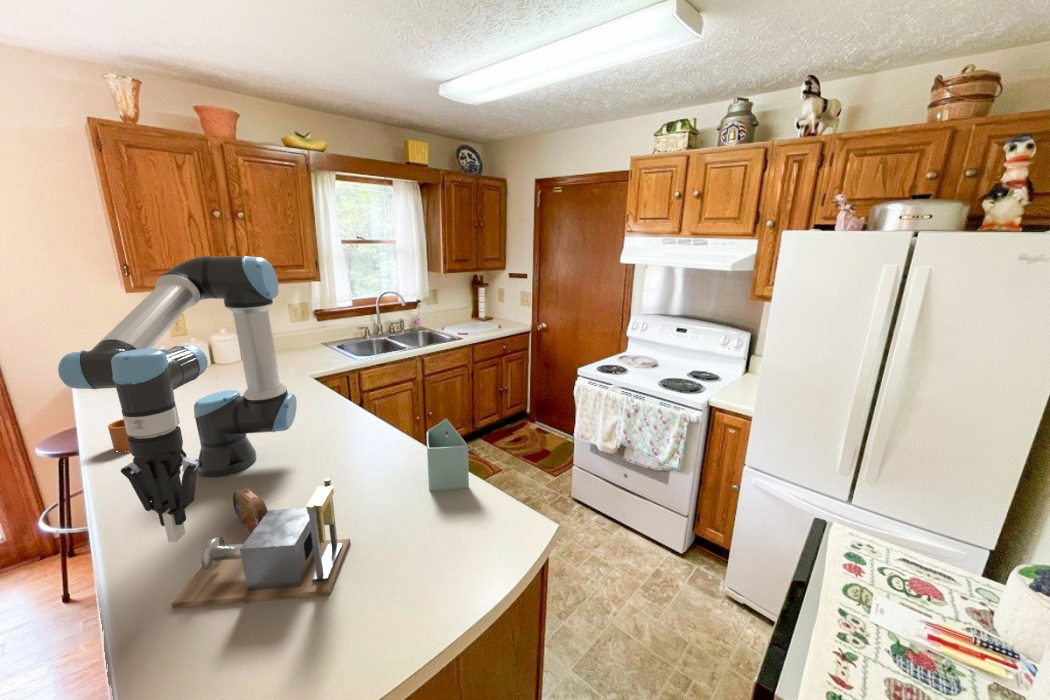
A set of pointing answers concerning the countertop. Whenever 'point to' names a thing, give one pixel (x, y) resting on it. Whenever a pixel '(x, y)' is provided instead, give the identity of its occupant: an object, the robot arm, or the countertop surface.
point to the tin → (249, 508)
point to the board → (232, 588)
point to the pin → (219, 552)
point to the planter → (447, 458)
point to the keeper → (323, 508)
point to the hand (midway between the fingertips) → (177, 537)
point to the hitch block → (287, 549)
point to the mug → (119, 436)
